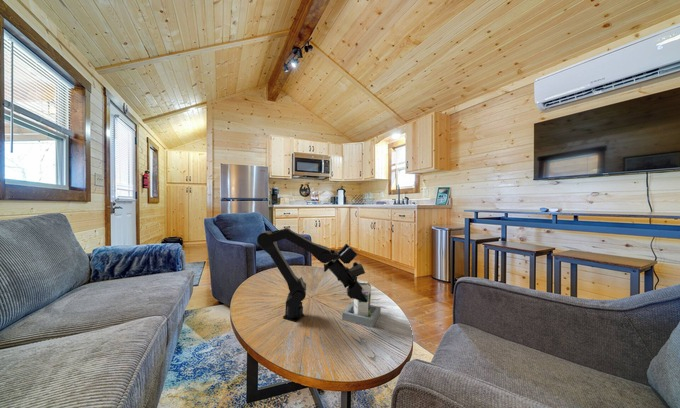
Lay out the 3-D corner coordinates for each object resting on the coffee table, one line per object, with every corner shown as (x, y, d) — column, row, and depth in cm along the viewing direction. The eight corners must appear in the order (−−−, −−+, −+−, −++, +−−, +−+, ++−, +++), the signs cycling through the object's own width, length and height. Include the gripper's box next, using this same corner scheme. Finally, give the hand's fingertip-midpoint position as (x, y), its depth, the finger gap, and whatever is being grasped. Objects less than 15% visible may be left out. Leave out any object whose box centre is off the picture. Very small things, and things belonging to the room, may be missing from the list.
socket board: (342, 319, 102) (342, 312, 102) (353, 307, 114) (353, 301, 114) (372, 327, 97) (372, 320, 97) (380, 313, 109) (380, 307, 109)
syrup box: (356, 320, 102) (358, 286, 102) (352, 313, 108) (354, 281, 107) (369, 319, 103) (371, 285, 103) (365, 313, 109) (366, 280, 109)
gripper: (357, 264, 95) (384, 292, 96) (351, 253, 114) (373, 277, 115) (336, 284, 95) (363, 312, 96) (333, 269, 113) (355, 293, 114)
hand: (364, 297), depth 105 cm, fingers open, 9 cm apart
